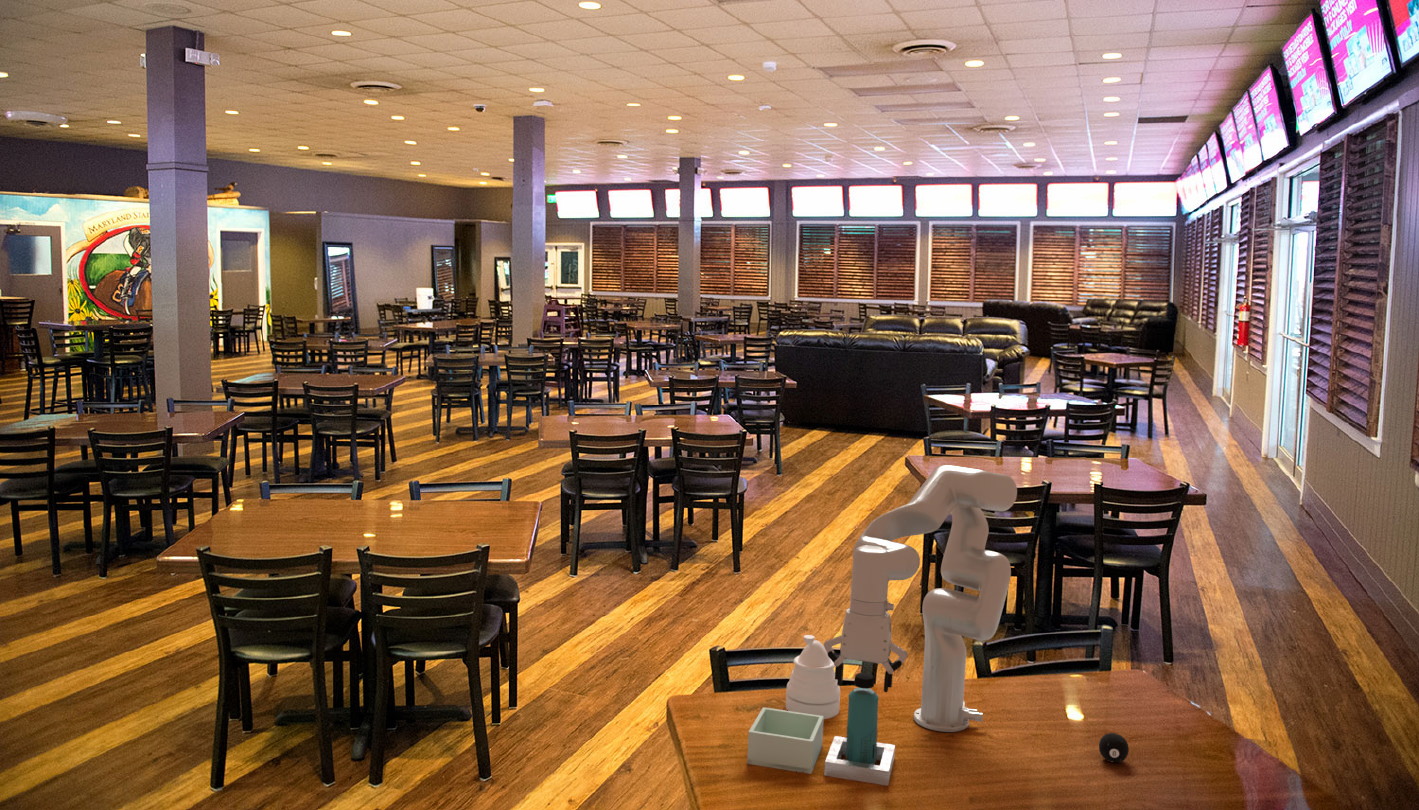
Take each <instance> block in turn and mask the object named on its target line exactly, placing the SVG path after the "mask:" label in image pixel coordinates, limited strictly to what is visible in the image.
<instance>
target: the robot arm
mask: <svg viewBox="0 0 1419 810" xmlns="http://www.w3.org/2000/svg"><path fill="white" fill-rule="evenodd" d="M1017 496H1018V488H1017V484H1016V482H1015V480H1014V479H1013V477H1012V476H1010V475H1008V474H1003V473H997V472H991V471H987V470H984V469H983V470H982V469H978V468H972V467H971V468H970V467H963V466H957V465H950V464H944V465H939V466H937V467H935V468H934V469H933V471H932V472H931V473H930V474H929V476H927V478H926V479H925V481H924V483H922V485H921V486H920V487H919V488H918V489H917V491H916V492H915V494H914V495H913V496H912V497H911V499H910V500H909V501H908V502H907V504H904V505H901V506H898V507H896V508H893V509H891V510H889V511H888V512H885V513H883V514H881V515H879V516H877V517H876V518H875V519H874V520H872V521H871V522H870V523H869V524H868V526H867V527H866V528H865V529H864V530H863V531H862V533H861V534H860V536H858V539H857V541H856V542H855V544H854V547H853V550H852V567H851V568H852V570H851V584H850V596H849V597H850V599H849V608H847V609H846V610H845V615H844V619H843V623H842V628H841V629H842V630H841V635H839V636H835V637H833V638H830V639H827V640H825V641H824V642H823V646H824V647H825V649H826V652H827V654H828V657H829V658H830V659H831V660H832V661H833V663H834V665H835V667H834V668H835V669H834V671H835V679H836V680H837V685H839V686H841V685H842V684H843V681H844V665H845V663H844V661H846V660H851V661H857V662H858V661H859V662H864V663H865V662H866V663H872V664H881V665H882V666H883V668H884V669H885V672H884V680H883V681H884V682H883V692H884V693H888V690H889V689H890V688H892V687H893V676H894V675H893V673H894V672H896V671H897V670H898V669H900V668H901V667H902V665H903V663H905V661H906V659H907V657H908V655H909V654H908V653H909V652H907V651H906V650H905V649H903V648H901V647H900V646H898V645H897V644H896V643H894V642H892V621H891V620H892V619H891V613H889V612H888V611H894V609H895V604H894V603H891V602H889V601H888V593H889V581H906V580H908V579H910V578H912V577H914V575H916V574H917V573H918V571H919V569H920V565H921V564H920V563H921V559H920V555H919V554H920V553H918V551H917V549H915V547H912V546H911V545H908V544H904V543H902V542H897V541H894V540H897V539H901V538H905V537H913V536H920V535H924V534H925V535H926V534H929V533H933V532H935V531H938V530H939V528H941V526H942V524H943V523H944V522H945V520H946V519H947V517H948V516H949V515H950V513H951V518H952V520H951V528H950V532H949V535H948V539H947V543H946V547H945V550H944V553H943V557H942V562H941V564H940V565H941V567H940V574H941V577H942V579H943V580H944V581H946V582H947V583H950V584H952V585H955V586H960V587H963V588H966V589H970V590H975V591H979V595H974V594H969V593H966V592H963V591H958V590H954V589H951V588H950V589H949V588H945V587H944V588H943V587H941V588H939V587H938V588H934V589H932V590H930V591H928V592H927V593H926V595H925V596H924V598H923V601H922V619H923V625H924V626H923V627H924V651H923V652H924V654H923V656H924V657H923V668H922V669H923V671H922V673H923V674H922V685H921V705H920V708H917V709H916V710H915V711H914V712H913V720H914V721H915V723H917V725H919V726H921V727H923V728H925V729H928V730H932V731H936V732H942V733H955V732H957V733H958V732H961V731H964V730H965V729H968V727H969V725H970V721H971V720H972V721H975V722H981V723H982V722H983V712H978V709H976V708H975V709H974V708H968V707H967V706H965V704H966V703H965V701H964V697H965V695H964V694H965V680H966V679H965V678H966V665H967V662H966V661H967V648H966V643H965V641H964V638H963V637H966V638H970V639H973V640H977V641H988V640H990V639H992V638H993V637H994V635H995V634H996V632H997V630H998V627H999V624H1000V620H1001V616H1002V613H1003V609H1004V606H1005V601H1006V598H1007V595H1008V591H1009V587H1010V582H1011V576H1012V570H1011V569H1012V568H1011V567H1012V566H1011V563H1010V561H1009V559H1008V558H1007V557H1006V555H1004V554H1002V553H1000V552H996V551H994V550H989V549H986V545H987V544H986V543H987V541H988V536H989V529H990V528H989V523H988V521H987V518H986V516H985V514H984V513H983V511H982V510H985V511H994V512H1005V511H1008V510H1009V509H1010V508H1012V507H1013V506H1014V504H1015V502H1016V500H1017ZM839 644H840V645H839ZM837 645H839V646H840V650H839V651H840V653H839V655H838V654H837V652H836V651H835V650H834V648H833V647H834V646H837ZM891 652H893V653H894V654H896V655H897V656H898V658H897V659H896V660H895V661H894V662H893V661H892V660H891V659H890V656H891Z"/></svg>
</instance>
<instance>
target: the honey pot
mask: <svg viewBox="0 0 1419 810" xmlns="http://www.w3.org/2000/svg"><path fill="white" fill-rule="evenodd" d="M815 639H816V637H815V635H811V634H805V635H804V636H803V641H804V643H805V644H806V645H805V647H804V648H803V649H802V651H801V653H800V654H799V655H797V656H796V657H794V659H793V664H794V667H793V669H792V671H791V675H790V677H789V681H788V682H787V684H786V693H785V709H786V711H787V710H788V711H792V712H799V713H806V714H813V715H820V716H824V720H827V719H832V718H834V717H836V716H837V715H838V714H839V713H840V704H841V703H840V702H841V701H840V699H841V687H840V685H837V680H836V679H835V669H834V668H835V667H836V666H835V665H834V663H833V661H832V660H831V659H830V658H829V657H828V654H827V652H826V649H825V647H824V644H822V642H821V641H819V640H815Z"/></svg>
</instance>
